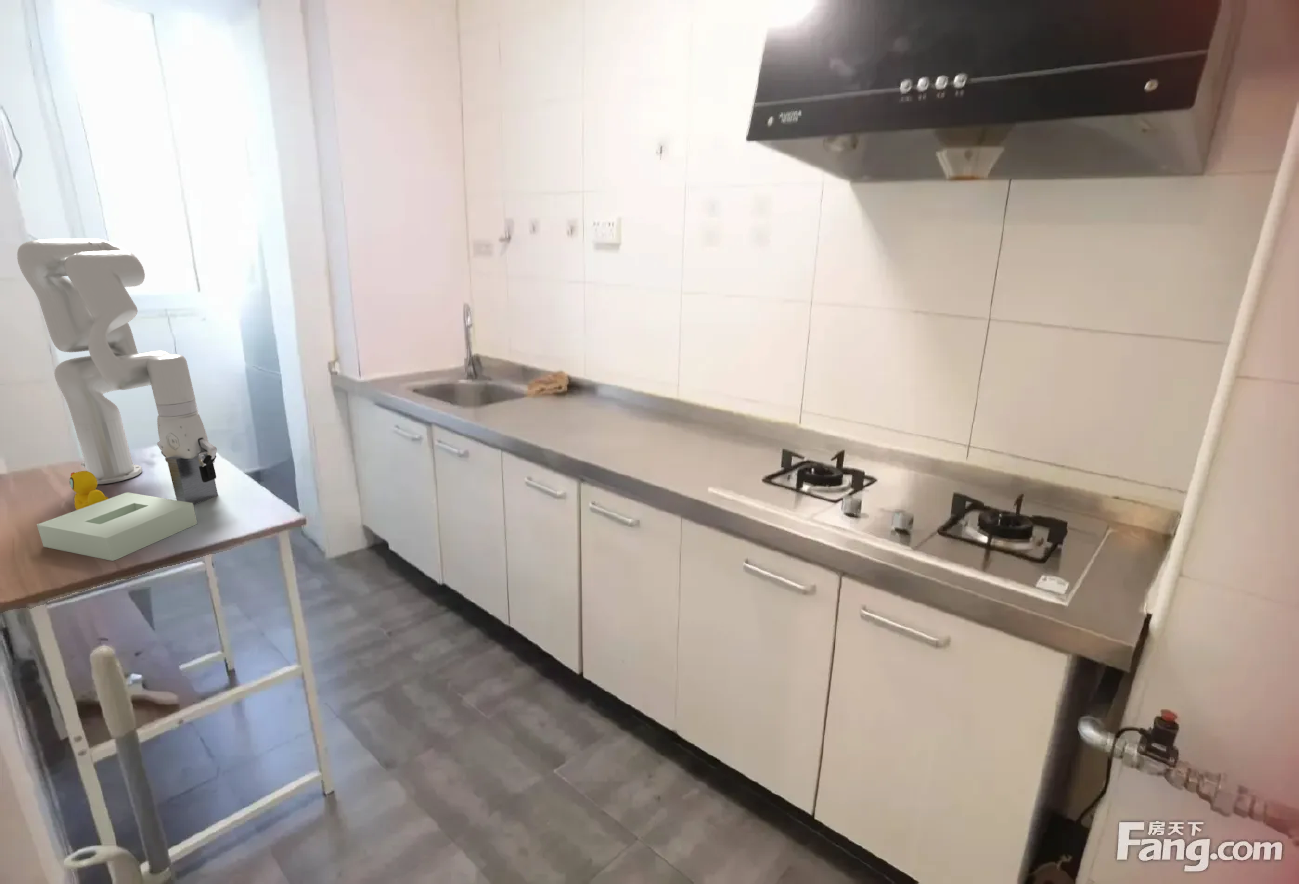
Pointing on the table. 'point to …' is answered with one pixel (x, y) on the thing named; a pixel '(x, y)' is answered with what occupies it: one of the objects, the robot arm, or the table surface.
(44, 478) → the table surface
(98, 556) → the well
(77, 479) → the duckling
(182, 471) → the brushed metal pillar
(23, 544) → the table surface
